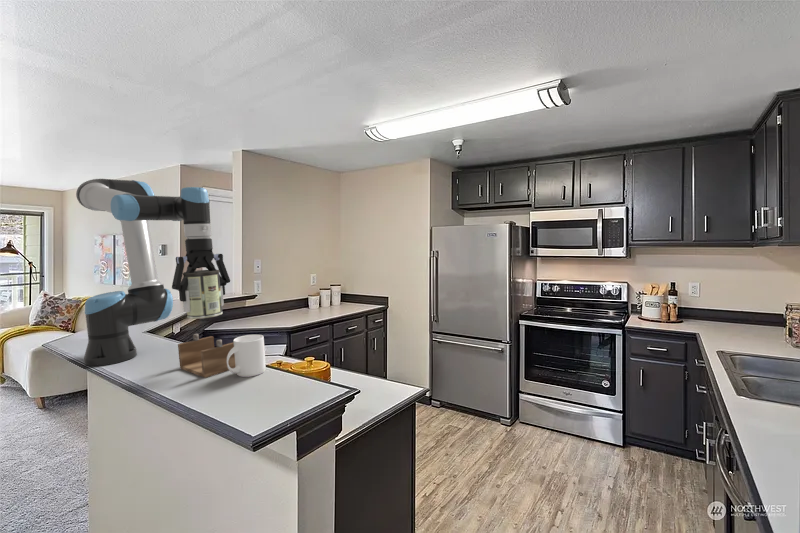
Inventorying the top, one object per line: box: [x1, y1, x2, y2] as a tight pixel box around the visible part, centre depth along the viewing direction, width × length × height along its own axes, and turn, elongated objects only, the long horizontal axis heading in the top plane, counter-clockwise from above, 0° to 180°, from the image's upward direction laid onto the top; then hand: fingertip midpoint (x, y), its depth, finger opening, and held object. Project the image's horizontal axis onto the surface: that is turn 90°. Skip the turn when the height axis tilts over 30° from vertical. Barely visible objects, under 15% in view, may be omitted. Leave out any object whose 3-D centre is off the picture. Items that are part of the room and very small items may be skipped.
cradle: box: [177, 333, 235, 379], centre depth 130 cm, size 16×11×10 cm
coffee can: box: [182, 269, 223, 320], centre depth 128 cm, size 10×10×14 cm
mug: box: [227, 334, 266, 378], centre depth 122 cm, size 9×12×11 cm
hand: (204, 308), depth 128 cm, fingers closed on coffee can, 10 cm apart
